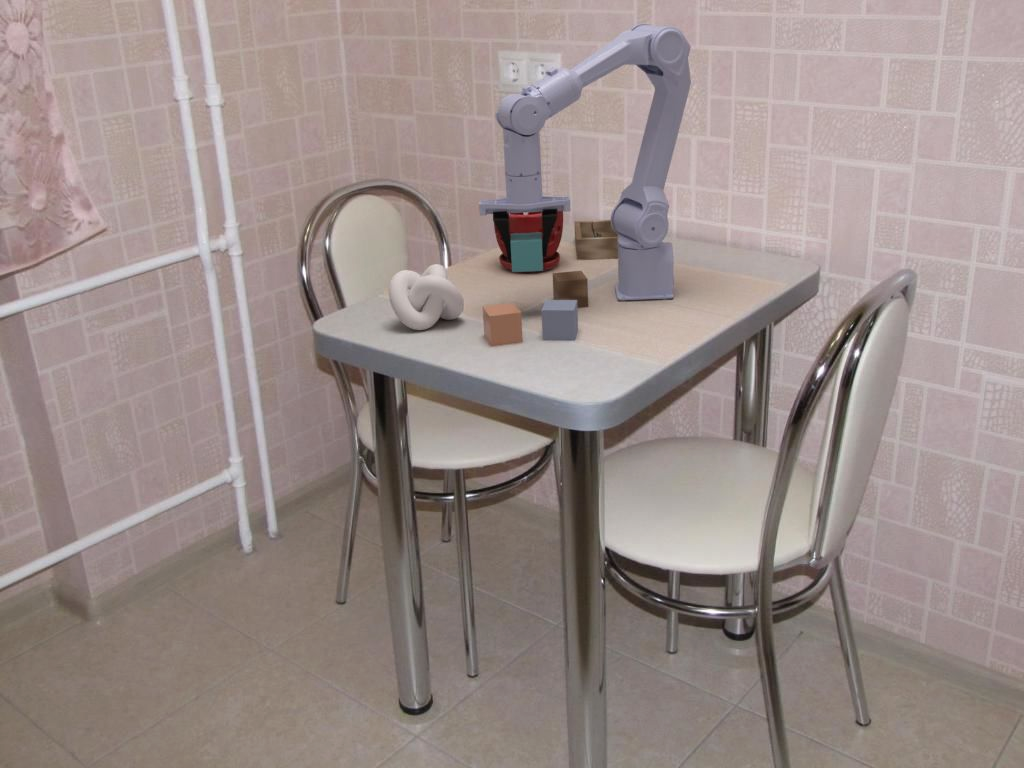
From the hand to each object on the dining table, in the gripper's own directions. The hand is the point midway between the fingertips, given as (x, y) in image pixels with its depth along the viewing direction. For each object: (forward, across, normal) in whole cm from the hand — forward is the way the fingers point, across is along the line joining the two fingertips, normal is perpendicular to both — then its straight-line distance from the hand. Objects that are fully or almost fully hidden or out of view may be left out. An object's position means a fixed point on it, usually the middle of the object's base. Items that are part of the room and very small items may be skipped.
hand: (527, 256), depth 173 cm
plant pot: (+10, 0, -28) cm, 29 cm away
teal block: (+2, 0, 0) cm, 2 cm away
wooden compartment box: (+10, -16, -38) cm, 42 cm away
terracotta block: (+10, +4, +11) cm, 16 cm away
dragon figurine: (+11, -12, -38) cm, 41 cm away
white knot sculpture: (+10, +16, +2) cm, 19 cm away
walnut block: (+10, -7, -5) cm, 13 cm away
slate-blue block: (+10, -5, +10) cm, 15 cm away
